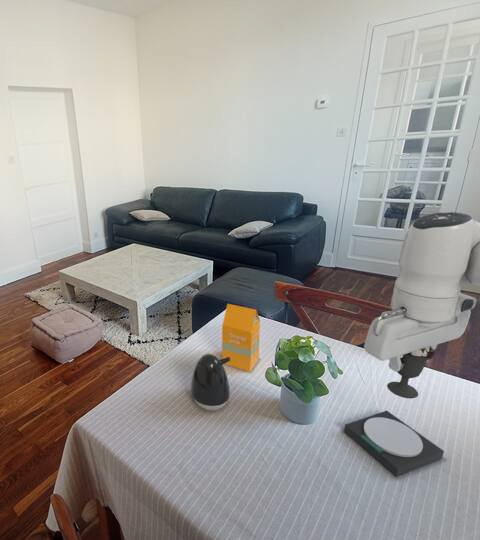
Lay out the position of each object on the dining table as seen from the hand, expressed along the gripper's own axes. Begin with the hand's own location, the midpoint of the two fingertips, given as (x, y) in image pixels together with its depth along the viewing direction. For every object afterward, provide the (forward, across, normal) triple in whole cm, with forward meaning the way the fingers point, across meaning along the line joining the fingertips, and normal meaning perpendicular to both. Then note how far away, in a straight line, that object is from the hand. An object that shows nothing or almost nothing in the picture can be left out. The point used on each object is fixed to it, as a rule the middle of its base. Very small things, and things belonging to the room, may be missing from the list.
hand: (408, 365), depth 66 cm
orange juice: (+22, -12, +38) cm, 45 cm away
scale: (+22, 0, 0) cm, 22 cm away
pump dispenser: (+22, -29, +26) cm, 45 cm away
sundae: (+6, 0, 0) cm, 6 cm away
